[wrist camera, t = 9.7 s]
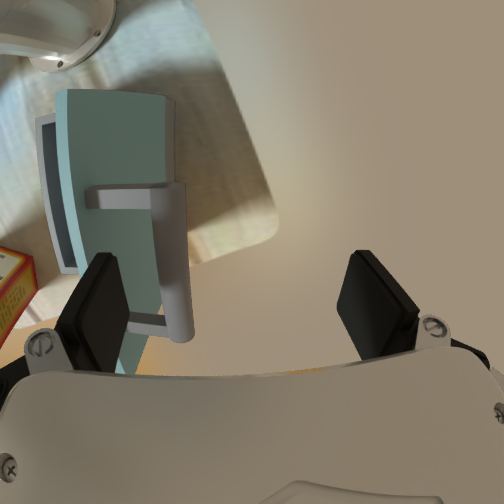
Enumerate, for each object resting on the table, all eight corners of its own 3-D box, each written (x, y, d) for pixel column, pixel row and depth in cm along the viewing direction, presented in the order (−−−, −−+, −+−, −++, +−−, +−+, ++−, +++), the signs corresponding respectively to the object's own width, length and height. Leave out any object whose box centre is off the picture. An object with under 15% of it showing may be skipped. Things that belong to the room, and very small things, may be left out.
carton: (76, 112, 24) (35, 118, 16) (175, 100, 25) (157, 96, 18) (90, 237, 31) (61, 273, 24) (177, 236, 33) (166, 276, 25)
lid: (55, 92, 7) (178, 70, 7) (158, 96, 18) (221, 94, 18) (122, 383, 14) (198, 395, 15) (166, 276, 25) (218, 279, 25)
